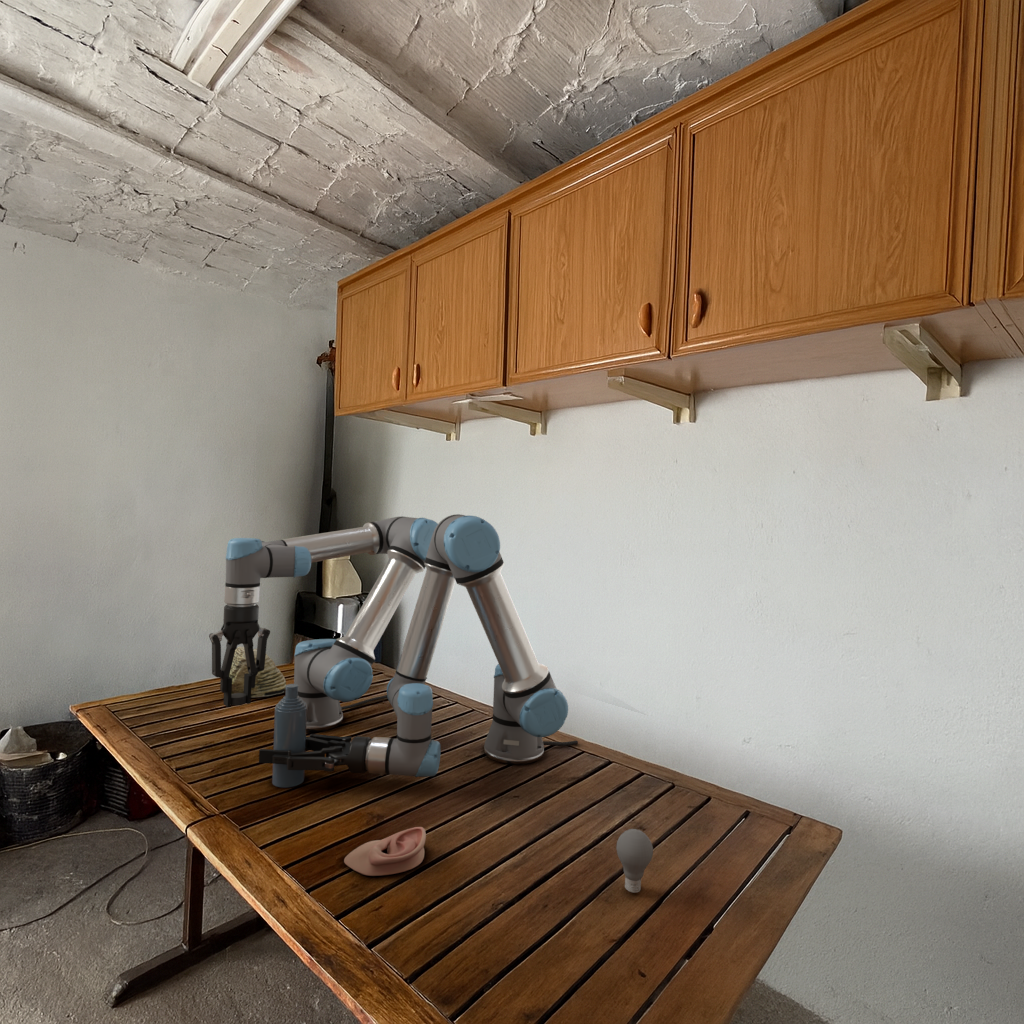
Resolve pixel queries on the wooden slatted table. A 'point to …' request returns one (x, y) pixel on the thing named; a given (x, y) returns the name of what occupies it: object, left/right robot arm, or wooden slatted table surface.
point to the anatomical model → (389, 853)
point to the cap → (238, 699)
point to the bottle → (289, 735)
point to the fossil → (266, 680)
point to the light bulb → (634, 857)
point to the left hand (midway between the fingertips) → (237, 703)
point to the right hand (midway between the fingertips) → (267, 749)
